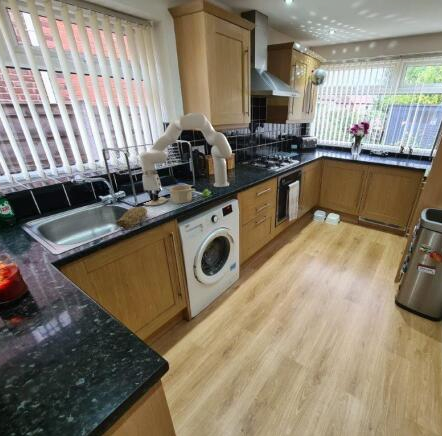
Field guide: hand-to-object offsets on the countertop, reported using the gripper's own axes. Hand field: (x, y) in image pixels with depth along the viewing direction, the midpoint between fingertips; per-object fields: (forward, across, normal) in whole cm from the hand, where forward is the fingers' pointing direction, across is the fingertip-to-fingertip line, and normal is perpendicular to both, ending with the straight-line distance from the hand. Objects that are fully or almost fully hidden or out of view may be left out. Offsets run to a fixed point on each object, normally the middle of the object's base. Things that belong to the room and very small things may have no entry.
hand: (154, 199), depth 161 cm
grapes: (+2, -30, -15) cm, 34 cm away
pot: (+2, -16, -6) cm, 17 cm away
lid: (+1, 0, 0) cm, 1 cm away
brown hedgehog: (+2, -4, +30) cm, 30 cm away
